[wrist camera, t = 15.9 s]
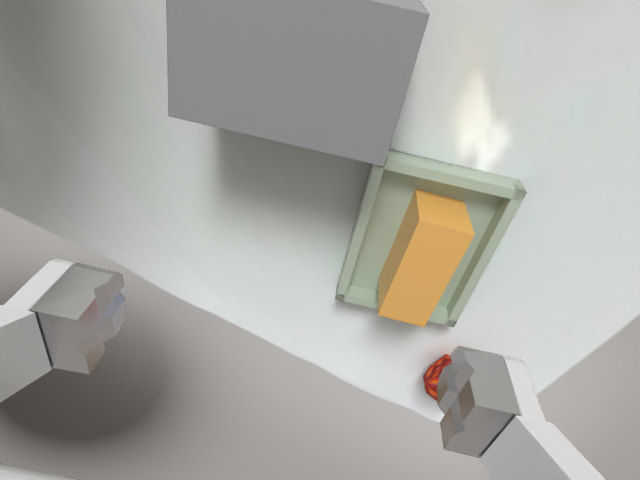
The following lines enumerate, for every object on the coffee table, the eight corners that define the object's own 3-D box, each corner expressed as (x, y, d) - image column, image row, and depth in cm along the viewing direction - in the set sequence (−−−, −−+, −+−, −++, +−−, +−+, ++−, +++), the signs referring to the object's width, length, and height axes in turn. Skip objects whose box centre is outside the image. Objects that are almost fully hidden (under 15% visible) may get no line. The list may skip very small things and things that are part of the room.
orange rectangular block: (376, 283, 49) (375, 320, 44) (415, 188, 41) (419, 220, 37) (418, 294, 49) (421, 332, 44) (464, 201, 42) (474, 234, 37)
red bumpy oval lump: (451, 368, 59) (403, 371, 56) (479, 344, 55) (429, 347, 52) (471, 413, 55) (420, 419, 52) (503, 392, 51) (449, 398, 48)
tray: (337, 285, 51) (335, 299, 48) (376, 146, 40) (376, 156, 38) (450, 312, 51) (453, 327, 48) (519, 179, 40) (526, 192, 38)
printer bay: (214, 81, 39) (168, 116, 31) (220, -48, 33) (165, -48, 25) (384, 121, 39) (383, 166, 31) (419, -1, 33) (429, 14, 25)
